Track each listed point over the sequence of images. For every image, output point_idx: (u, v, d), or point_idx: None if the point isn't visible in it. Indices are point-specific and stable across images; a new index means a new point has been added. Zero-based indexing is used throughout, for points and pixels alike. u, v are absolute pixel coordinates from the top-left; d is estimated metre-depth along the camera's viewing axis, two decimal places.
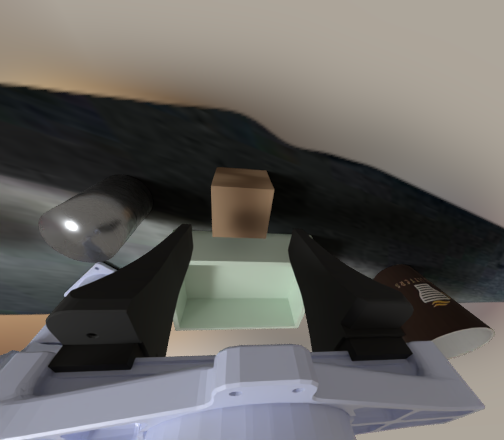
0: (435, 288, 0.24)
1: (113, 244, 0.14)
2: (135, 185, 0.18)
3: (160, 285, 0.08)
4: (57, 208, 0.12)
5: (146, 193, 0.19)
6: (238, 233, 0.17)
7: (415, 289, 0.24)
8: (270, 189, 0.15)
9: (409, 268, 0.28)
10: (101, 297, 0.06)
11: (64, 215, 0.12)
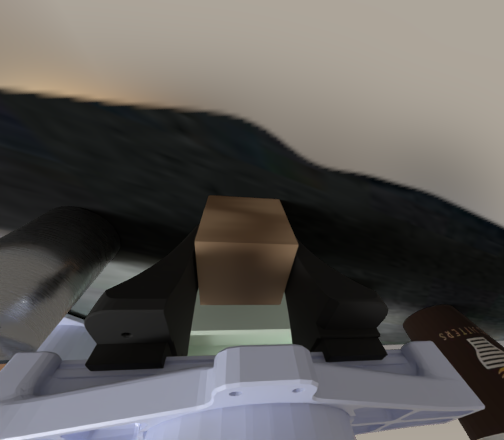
0: (496, 344, 0.18)
1: (28, 339, 0.08)
2: (87, 223, 0.12)
3: (185, 285, 0.08)
4: None
5: (107, 232, 0.13)
6: (239, 300, 0.11)
7: (469, 345, 0.19)
8: (292, 244, 0.09)
9: (454, 311, 0.22)
10: (137, 297, 0.06)
11: None
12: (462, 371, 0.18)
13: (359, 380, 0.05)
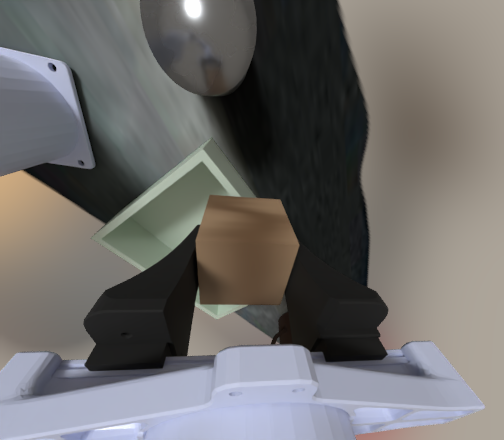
0: None
1: (221, 83, 0.09)
2: None
3: (185, 285, 0.08)
4: None
5: None
6: (239, 299, 0.11)
7: None
8: (293, 244, 0.09)
9: None
10: (137, 297, 0.06)
11: None
12: None
13: (359, 380, 0.05)
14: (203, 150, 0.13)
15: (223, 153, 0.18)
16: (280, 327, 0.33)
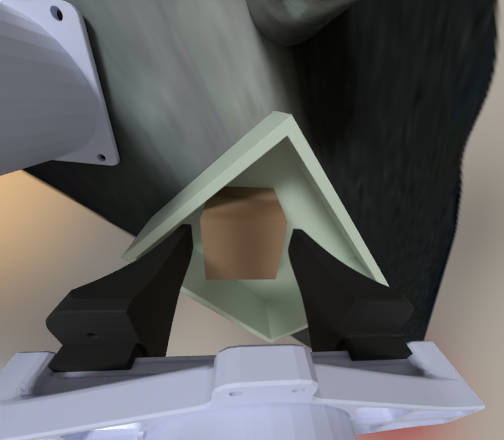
0: None
1: None
2: None
3: (160, 285, 0.08)
4: None
5: None
6: (239, 274, 0.13)
7: None
8: (282, 221, 0.11)
9: None
10: (101, 298, 0.06)
11: None
12: None
13: (359, 380, 0.05)
14: (291, 117, 0.08)
15: None
16: None
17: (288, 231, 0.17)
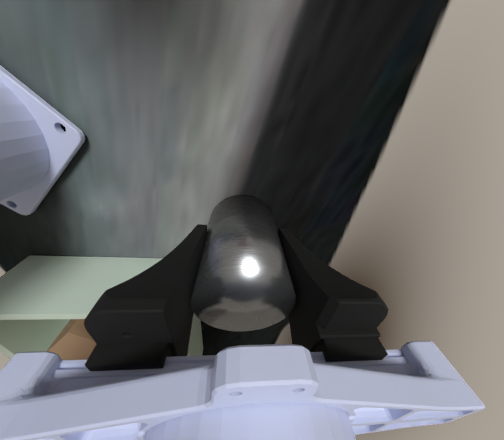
0: None
1: (236, 327, 0.10)
2: None
3: (185, 285, 0.08)
4: (294, 293, 0.09)
5: None
6: None
7: None
8: None
9: None
10: (137, 297, 0.06)
11: (284, 298, 0.09)
12: None
13: (359, 380, 0.05)
14: None
15: None
16: None
17: None
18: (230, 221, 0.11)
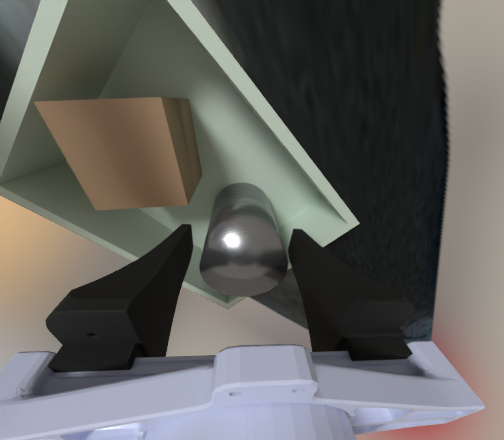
0: None
1: (237, 292, 0.11)
2: None
3: (160, 285, 0.08)
4: None
5: None
6: (136, 199, 0.10)
7: None
8: (153, 97, 0.07)
9: None
10: (101, 298, 0.06)
11: (278, 263, 0.10)
12: None
13: (359, 380, 0.05)
14: None
15: None
16: None
17: (228, 165, 0.14)
18: (233, 201, 0.12)
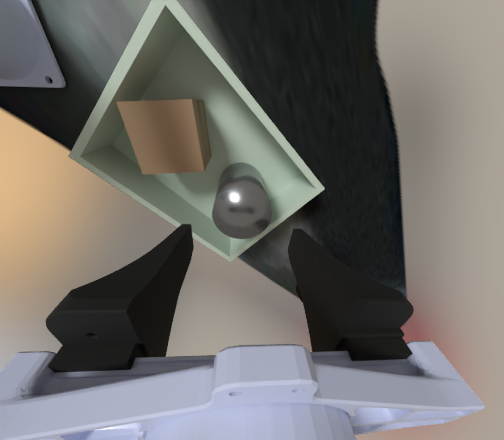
0: None
1: (237, 235, 0.16)
2: None
3: (160, 285, 0.08)
4: (270, 207, 0.15)
5: None
6: (170, 167, 0.15)
7: None
8: (187, 99, 0.12)
9: None
10: (101, 297, 0.06)
11: (265, 211, 0.15)
12: None
13: (359, 380, 0.05)
14: None
15: None
16: None
17: (230, 149, 0.19)
18: (234, 173, 0.17)
